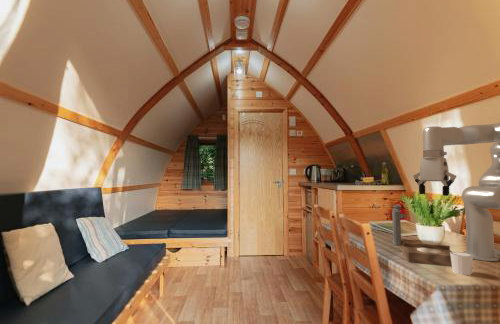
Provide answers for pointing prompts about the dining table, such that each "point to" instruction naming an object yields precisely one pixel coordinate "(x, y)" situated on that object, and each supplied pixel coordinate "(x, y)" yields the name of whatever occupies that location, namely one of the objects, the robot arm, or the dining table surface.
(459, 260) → the white cup
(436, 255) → the rack
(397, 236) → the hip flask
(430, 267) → the dining table surface
